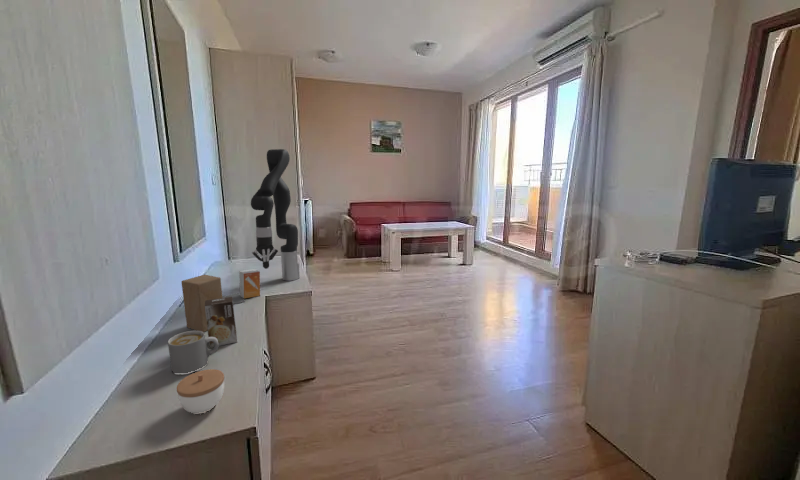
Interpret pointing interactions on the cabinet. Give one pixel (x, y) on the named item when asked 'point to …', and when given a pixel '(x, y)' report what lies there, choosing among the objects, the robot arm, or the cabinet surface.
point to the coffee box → (221, 320)
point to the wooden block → (199, 299)
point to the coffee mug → (190, 351)
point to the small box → (249, 283)
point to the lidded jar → (201, 390)
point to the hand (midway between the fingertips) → (266, 268)
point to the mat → (235, 298)
